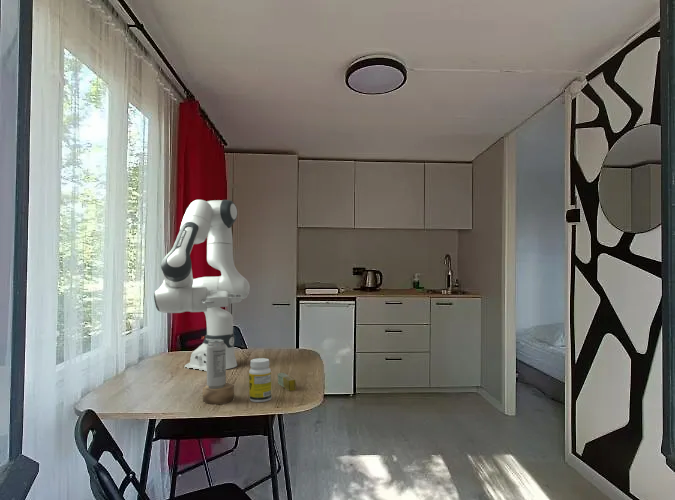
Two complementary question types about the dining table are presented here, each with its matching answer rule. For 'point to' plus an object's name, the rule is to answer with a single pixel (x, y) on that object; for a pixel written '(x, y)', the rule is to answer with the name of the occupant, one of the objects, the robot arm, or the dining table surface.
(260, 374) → the supplement bottle
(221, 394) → the wooden bowl
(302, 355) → the dining table surface
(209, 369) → the energy drink can
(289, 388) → the medication box
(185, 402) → the dining table surface
